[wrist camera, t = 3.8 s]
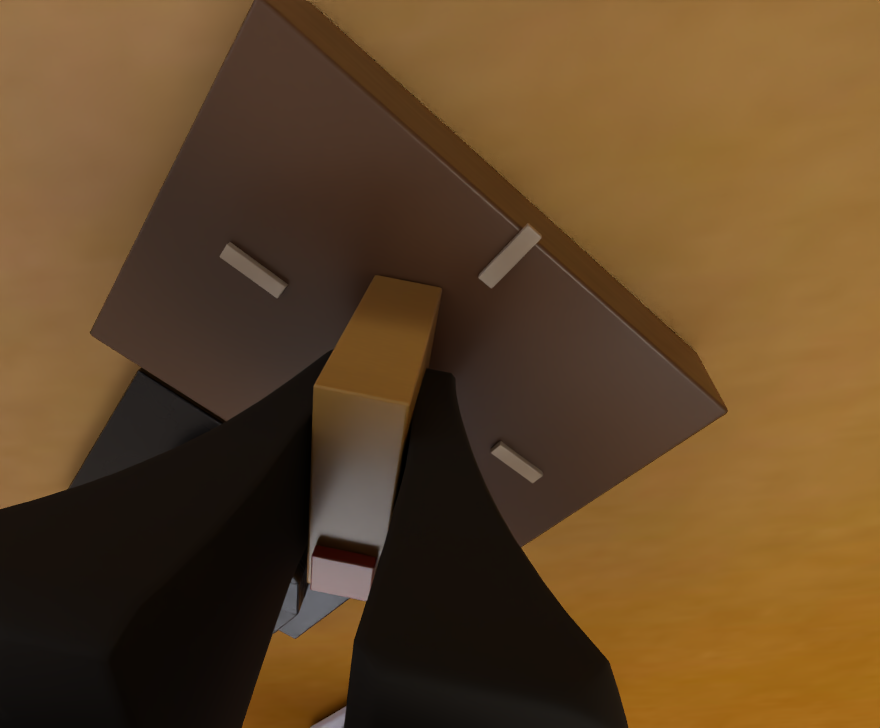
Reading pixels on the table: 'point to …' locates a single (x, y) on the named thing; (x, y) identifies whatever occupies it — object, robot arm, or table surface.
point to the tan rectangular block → (365, 431)
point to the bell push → (164, 428)
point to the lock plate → (392, 273)
